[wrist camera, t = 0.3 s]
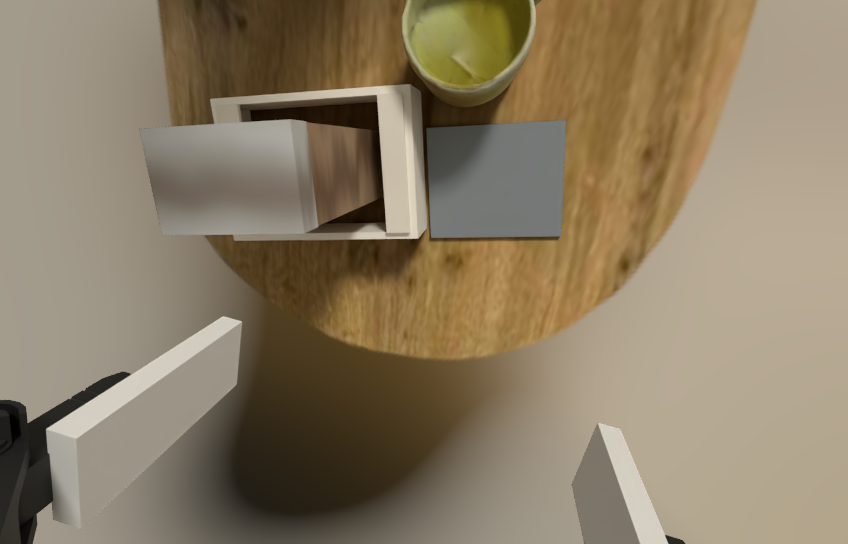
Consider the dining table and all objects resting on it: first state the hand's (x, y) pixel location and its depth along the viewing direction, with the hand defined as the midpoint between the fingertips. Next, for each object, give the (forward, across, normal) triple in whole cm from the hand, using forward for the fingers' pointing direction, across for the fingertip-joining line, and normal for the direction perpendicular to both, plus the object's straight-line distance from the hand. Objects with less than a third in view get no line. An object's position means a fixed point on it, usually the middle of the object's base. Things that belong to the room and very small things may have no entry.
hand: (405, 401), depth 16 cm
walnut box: (+27, -14, +4) cm, 31 cm away
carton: (+27, -14, +4) cm, 31 cm away
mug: (+28, -2, +17) cm, 33 cm away
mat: (+27, +1, +6) cm, 28 cm away
